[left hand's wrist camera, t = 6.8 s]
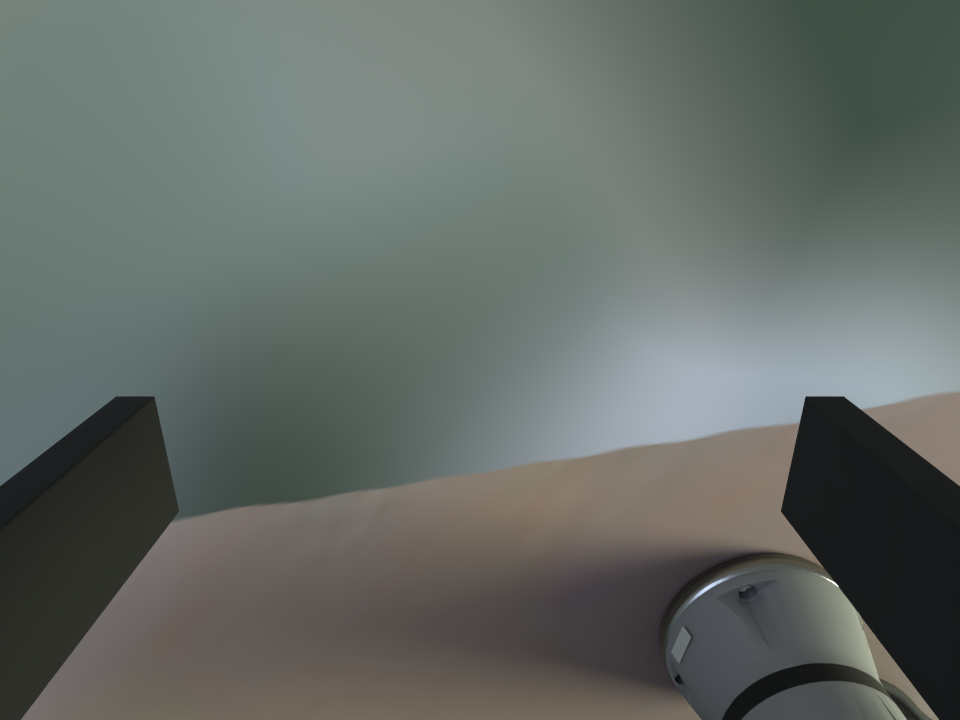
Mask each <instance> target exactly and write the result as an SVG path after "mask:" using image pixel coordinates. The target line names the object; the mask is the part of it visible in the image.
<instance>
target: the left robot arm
mask: <svg viewBox="0 0 960 720" xmlns="http://www.w3.org/2000/svg"><path fill="white" fill-rule="evenodd" d="M178 512H179V509H178V504H177V500H176V495H175V490H174V486H173V481H172V476H171V472H170V467H169V463H168V458H167V453H166V449H165V444H164V439H163V435H162V430H161V425H160V421H159V416H158V411H157V407H156V402H155V397H115V398H114V399H113V400H111V401H110V402H109V403H107V404H106V405H105V406H103V407H102V408H101V409H100V410H98V411H97V412H96V413H94V414H93V415H92V416H91V417H89V418H88V419H87V420H85V421H84V422H83V423H82V424H80V425H79V426H78V427H76V428H75V429H74V430H73V431H71V432H70V433H69V434H67V435H66V436H65V437H63V438H62V439H61V440H60V441H58V442H57V443H56V444H54V445H53V446H52V447H51V448H49V449H48V450H47V451H45V452H44V453H43V454H41V455H40V456H39V457H38V458H36V459H35V460H34V461H32V462H31V463H30V464H29V465H27V466H26V467H25V468H23V469H22V470H21V471H20V472H18V473H17V474H16V475H14V476H13V477H12V478H10V479H9V480H8V481H7V482H5V483H4V484H3V485H1V486H0V720H21V719H22V717H23V716H24V715H25V713H26V712H27V711H28V709H29V708H30V707H31V705H32V704H33V703H34V701H35V700H36V699H37V698H38V696H39V695H40V694H41V692H42V691H43V690H44V688H45V687H46V686H47V684H48V683H49V682H50V680H51V679H52V678H53V676H54V675H55V674H56V673H57V671H58V670H59V669H60V667H61V666H62V665H63V663H64V662H65V661H66V659H67V658H68V657H69V655H70V654H71V653H72V651H73V650H74V649H75V648H76V646H77V645H78V644H79V642H80V641H81V640H82V638H83V637H84V636H85V634H86V633H87V632H88V630H89V629H90V628H91V626H92V625H93V624H94V623H95V621H96V620H97V619H98V617H99V616H100V615H101V613H102V612H103V611H104V609H105V608H106V607H107V605H108V604H109V603H110V601H111V600H112V599H113V598H114V596H115V595H116V594H117V592H118V591H119V590H120V588H121V587H122V586H123V584H124V583H125V582H126V580H127V579H128V578H129V576H130V575H131V574H132V573H133V571H134V570H135V569H136V567H137V566H138V565H139V563H140V562H141V561H142V559H143V558H144V557H145V555H146V554H147V553H148V551H149V550H150V549H151V548H152V546H153V545H154V544H155V542H156V541H157V540H158V538H159V537H160V536H161V534H162V533H163V532H164V530H165V529H166V528H167V526H168V525H169V524H170V523H171V521H172V520H173V519H174V517H175V516H176V515H177V513H178ZM781 512H782V513H783V515H784V516H785V517H786V519H787V520H788V521H789V523H790V524H791V525H792V526H793V528H794V529H795V530H796V532H797V533H798V534H799V536H800V537H801V538H802V540H803V541H804V542H805V544H806V545H807V546H808V548H809V549H810V550H811V551H812V553H813V554H814V555H815V557H816V558H817V559H818V561H819V562H820V563H821V565H822V566H823V567H824V568H822V567H820V566H819V565H817V564H815V563H813V562H810V561H808V560H805V559H802V558H799V557H794V556H789V555H782V554H759V555H751V556H745V557H740V558H737V559H733V560H730V561H727V562H724V563H722V564H719V565H717V566H715V567H713V568H711V569H709V570H707V571H705V572H703V573H702V574H700V575H699V576H697V577H696V578H694V579H693V580H692V581H690V582H689V583H688V584H687V585H686V586H685V587H684V588H683V589H682V590H681V591H680V592H679V593H678V594H677V595H676V596H675V598H674V599H673V600H672V602H671V603H670V605H669V607H668V608H667V610H666V612H665V614H664V617H663V620H662V623H661V627H660V635H659V639H660V648H661V652H662V656H663V659H664V662H665V665H666V667H667V670H668V673H669V675H670V678H671V680H672V681H673V683H674V684H675V686H676V687H677V689H678V690H679V691H680V693H681V694H682V695H683V696H684V698H685V699H686V700H687V701H688V702H689V704H690V705H691V707H692V708H693V709H694V710H695V712H696V713H697V714H698V715H699V717H700V718H701V719H702V720H907V719H906V718H905V716H904V715H903V714H902V712H901V711H900V709H899V708H898V707H897V705H896V704H895V703H894V701H893V700H892V698H891V697H890V696H889V694H890V695H891V696H893V697H894V698H895V699H897V700H898V701H899V702H900V703H901V704H902V705H903V706H904V707H905V708H906V709H907V710H908V711H909V713H910V714H911V715H912V716H913V717H914V718H915V719H916V720H931V719H930V718H929V717H927V716H926V715H925V714H924V713H923V712H922V711H921V710H920V709H919V708H918V707H917V706H916V705H915V704H914V702H913V701H912V700H911V699H910V698H909V697H908V696H907V695H906V694H905V693H904V692H902V691H901V690H900V689H898V688H897V687H895V686H894V685H892V684H890V683H888V682H886V681H884V680H881V679H879V677H878V674H877V671H876V668H875V664H874V661H873V658H872V655H871V652H870V649H869V646H868V643H867V640H866V637H865V634H864V630H863V624H862V620H861V617H862V619H863V620H864V621H865V623H866V624H867V625H868V626H869V628H870V629H871V630H872V632H873V633H874V634H875V636H876V637H877V638H878V640H879V641H880V642H881V644H882V645H883V646H884V648H885V649H886V650H887V651H888V653H889V654H890V655H891V657H892V658H893V659H894V661H895V662H896V663H897V665H898V666H899V667H900V669H901V670H902V671H903V673H904V674H905V675H906V676H907V678H908V679H909V680H910V682H911V683H912V684H913V686H914V687H915V688H916V690H917V691H918V692H919V694H920V695H921V696H922V698H923V699H924V700H925V701H926V703H927V704H928V705H929V707H930V708H931V709H932V711H933V712H934V713H935V715H936V716H937V717H938V719H939V720H960V486H959V485H957V484H956V483H955V482H953V481H952V480H951V479H950V478H948V477H947V476H946V475H944V474H943V473H942V472H941V471H939V470H938V469H937V468H935V467H934V466H933V465H931V464H930V463H929V462H928V461H926V460H925V459H924V458H922V457H921V456H920V455H919V454H917V453H916V452H915V451H913V450H912V449H911V448H909V447H908V446H907V445H906V444H904V443H903V442H902V441H900V440H899V439H898V438H897V437H895V436H894V435H893V434H891V433H890V432H889V431H888V430H886V429H885V428H884V427H882V426H881V425H880V424H878V423H877V422H876V421H875V420H873V419H872V418H871V417H869V416H868V415H867V414H866V413H864V412H863V411H862V410H860V409H859V408H858V407H857V406H855V405H854V404H853V403H851V402H850V401H849V400H847V399H846V398H845V397H805V402H804V407H803V411H802V416H801V421H800V425H799V430H798V435H797V439H796V444H795V448H794V453H793V458H792V462H791V467H790V472H789V476H788V481H787V486H786V490H785V495H784V500H783V504H782V509H781ZM860 616H861V617H860Z"/></svg>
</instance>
